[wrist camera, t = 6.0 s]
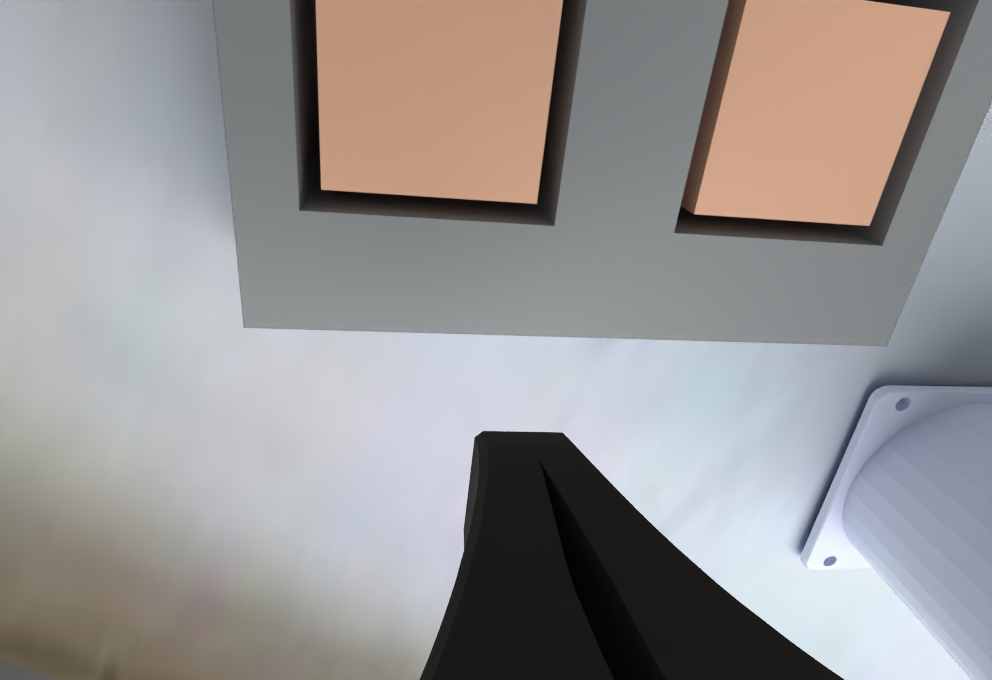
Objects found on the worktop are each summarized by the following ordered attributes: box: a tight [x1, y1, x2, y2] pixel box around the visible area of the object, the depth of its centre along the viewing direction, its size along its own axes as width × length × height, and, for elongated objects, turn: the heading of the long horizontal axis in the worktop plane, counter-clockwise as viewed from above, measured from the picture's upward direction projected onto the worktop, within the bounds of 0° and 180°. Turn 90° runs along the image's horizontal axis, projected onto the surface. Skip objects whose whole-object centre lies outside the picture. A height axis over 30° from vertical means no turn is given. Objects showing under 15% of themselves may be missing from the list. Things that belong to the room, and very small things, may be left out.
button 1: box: [316, 0, 563, 204], centre depth 12 cm, size 4×4×3 cm
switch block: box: [213, 0, 992, 346], centre depth 13 cm, size 15×10×4 cm, turn 84°
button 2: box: [681, 0, 950, 226], centre depth 14 cm, size 4×4×3 cm
